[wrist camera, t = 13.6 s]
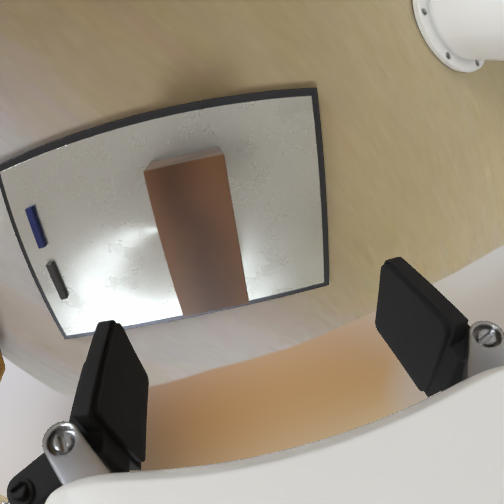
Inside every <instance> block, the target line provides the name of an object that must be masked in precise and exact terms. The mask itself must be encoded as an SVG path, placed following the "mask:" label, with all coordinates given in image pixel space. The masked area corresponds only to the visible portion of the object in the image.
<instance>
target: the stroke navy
mask: <svg viewBox="0 0 504 504" xmlns="http://www.w3.org/2000/svg"><path fill="white" fill-rule="evenodd" d="M25 212H26V215H27V218H28V221H29V224H30V226H31V229H32V232H33V235H34V237H35V240H36V243H37V245H38V248H39V249H41V248H44V247H46V245H47V244H46V242H45V239H44V236H43V234H42V231H41V228H40V225H39V222H38V219H37V216H36V213H35V210H34V207H33V206H31V207H28V208H26V209H25Z"/></svg>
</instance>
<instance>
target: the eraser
mask: <svg viewBox="0 0 504 504" xmlns="http://www.w3.org/2000/svg"><path fill="white" fill-rule="evenodd" d="M143 174H144V178H145V182H146V186H147V191H148V195H149V199H150V203H151V207H152V211H153V215H154V219H155V222H156V226H157V230H158V234H159V237H160V241H161V244H162V248H163V252H164V255H165V259H166V262H167V265H168V269H169V272H170V276H171V279H172V282H173V285H174V289H175V292H176V295H177V298H178V301H179V304H180V308H181V311H182V314H183V316H184V317H187V316H191V315H196V314H201V313H206V312H211V311H215V310H220V309H225V308H229V307H234V306H238V305H243V304H247V303H249V297H248V292H247V286H246V280H245V274H244V269H243V263H242V257H241V251H240V245H239V240H238V234H237V228H236V222H235V216H234V210H233V204H232V198H231V192H230V186H229V180H228V174H227V168H226V162H225V156H224V154H223V153H222V152H221V150H220V149H219V148H218V147H217V146H216V147H210V148H205V149H200V150H195V151H190V152H185V153H181V154H176V155H172V156H167V157H163V158H159V159H154V160H151V162H150V163H149V164H148V166H147V167H146V169H145V170H144V172H143Z"/></svg>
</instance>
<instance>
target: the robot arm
mask: <svg viewBox="0 0 504 504" xmlns="http://www.w3.org/2000/svg"><path fill="white" fill-rule="evenodd" d="M413 9H414V15H415V18H416V21H417V24H418V27H419V29H420V31H421V34H422V36H423V37H424V39H425V41H426V43H427V44H428V46H429V47H430V49H431V50H432V51H433V53H434V54H435V55H436V56H437V57H438V58H439V59H440V60H441V61H442V62H443V63H444V64H445V65H447V66H448V67H450V68H452V69H453V70H456V71H459V72H474V71H476V70H478V69H479V68H480V67H481V66H482V65H483V64H484V62H485V60H500V61H504V0H413ZM467 323H468V319H467V318H466V317H464V315H463V314H462V313H461V312H460V311H459V310H458V309H457V308H456V307H455V306H454V305H453V304H452V303H451V302H450V301H448V300H447V299H446V298H445V297H444V296H443V295H442V294H441V293H440V292H439V291H438V290H437V289H436V288H435V287H434V286H433V285H432V284H430V283H429V282H428V281H427V280H426V279H425V278H424V277H423V276H422V275H421V274H420V273H418V272H417V271H416V270H415V269H414V268H413V267H412V266H411V265H410V264H408V263H407V262H406V261H405V260H404V259H403V258H401V257H396V258H393V259H389V260H386V261H385V263H384V265H382V267H381V273H380V284H379V294H378V303H377V311H376V320H375V324H376V328H377V330H378V332H379V333H380V334H381V335H382V337H383V339H384V340H385V341H386V343H387V344H388V346H389V347H390V348H391V350H392V351H393V353H394V354H395V355H396V357H397V358H398V360H399V361H400V362H401V364H402V365H403V367H404V368H405V370H406V371H407V373H408V374H409V376H410V377H411V379H412V380H413V381H414V383H415V384H416V386H417V387H418V389H419V390H420V391H424V392H425V393H426V395H427V396H428V397H429V398H427V399H425V400H423V401H421V402H419V403H417V404H414V405H412V406H410V407H408V408H406V409H403V410H401V411H399V412H397V413H394V414H392V415H390V416H387V417H384V418H382V419H379V420H377V421H375V422H372V423H369V424H366V425H364V426H361V427H358V428H355V429H353V430H350V431H347V432H344V433H341V434H338V435H335V436H332V437H329V438H326V439H323V440H319V441H316V442H312V443H309V444H305V445H302V446H298V447H294V448H290V449H286V450H282V451H278V452H274V453H269V454H265V455H260V456H256V457H251V458H246V459H240V460H235V461H229V462H224V463H217V464H210V465H203V466H194V467H186V468H176V469H165V470H154V471H137V472H136V471H135V472H129V470H141V462H143V461H145V449H146V419H147V401H148V386H149V381H148V376H147V373H146V372H145V370H144V368H143V366H142V364H141V362H140V360H139V359H138V357H137V355H136V353H135V351H134V349H133V347H132V345H131V343H130V341H129V339H128V337H127V335H126V333H125V331H124V329H123V327H122V325H121V324H120V323H116V321H115V320H107V321H101V322H98V324H97V326H96V329H95V333H94V336H93V339H92V342H91V345H90V349H89V352H88V356H87V359H86V362H85V363H84V365H83V368H82V372H81V375H80V379H79V383H78V387H77V391H76V394H75V398H74V403H73V407H72V411H71V416H70V420H69V422H64V421H63V422H58V423H56V424H54V425H52V426H51V427H50V428H49V429H48V430H47V432H46V433H45V435H44V438H43V445H42V447H43V450H44V453H43V454H42V455H41V456H39V457H38V458H37V459H36V460H34V461H33V462H32V463H31V464H29V465H28V466H27V467H26V468H25V469H23V470H22V471H21V472H20V473H18V474H17V475H16V476H15V477H14V478H13V479H12V480H11V481H10V483H9V485H8V488H7V498H8V500H9V501H8V503H6V502H3V503H2V504H504V332H503V330H502V329H501V328H500V327H499V326H498V325H496V324H494V323H492V322H489V321H478V322H476V323H474V324H473V325H472V326H471V327H470V326H469V325H468V324H467ZM439 391H441V392H440V393H438V392H439ZM436 393H438V394H436ZM434 394H436V395H434ZM432 395H434V396H432ZM430 396H432V397H430Z"/></svg>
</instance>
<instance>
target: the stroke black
mask: <svg viewBox="0 0 504 504" xmlns="http://www.w3.org/2000/svg"><path fill="white" fill-rule="evenodd" d="M46 268H47V270H48V272H49V275H50V277H51V279H52V281H53V284H54V286H55V288H56V290H57V292H58V294H59V297H60V299H61V300H63V299H67V298H68V294H67V292H66V290H65V288H64V285H63V283H62V281H61V279H60V276H59V274H58V272H57V269H56V267H55V264H54V262H50V263H47V264H46Z"/></svg>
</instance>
